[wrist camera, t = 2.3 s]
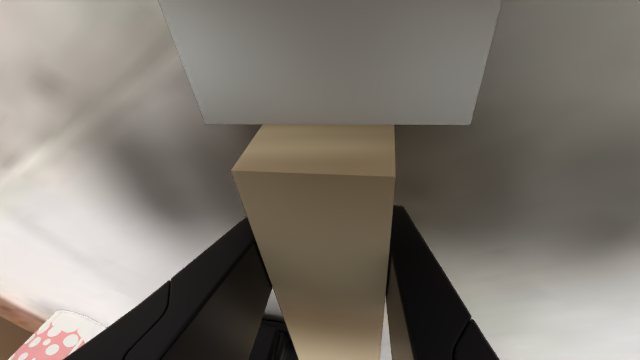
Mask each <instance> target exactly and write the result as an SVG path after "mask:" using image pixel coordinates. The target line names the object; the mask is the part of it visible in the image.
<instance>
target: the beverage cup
mask: <svg viewBox="0 0 640 360" xmlns="http://www.w3.org/2000/svg"><path fill="white" fill-rule="evenodd" d="M105 329H106V327H104V326H103V325H101V324H100V323H98V322H96V321H94V320H92V319H90V318H88V317H86V316H83V315H80V314H77V313H74V312H70V311H65V310H57V311H56V312H55V313H54V314H53V315H52V316H51V317H50V318H49V319H48V320H47V321H46V322H45V323H44V324H43V325H42V326H41V327H40V328H39V329H38V330H37V331H36V332H35V333H34V334H33V335H32V336H31V337H30V338H29V339H28V340H27V341H26V342H25V343H24V344H23V345H22V347H20V348H19V349H18V350H17V351H16V352H15V353H14V354H13V355H12V356H11V357H10V358H9V359H8V360H63V359H64V358H65V357H67V356H68V355H70V354H71V353H72V352H74V351H75V350H77V349H78V348H79V347H81V346H82V345H84V344H85V343H86V342H88V341H89V340H91V339H92V338H93V337H95V336H96V335H98V334H99V333H100V332H102V331H103V330H105Z"/></svg>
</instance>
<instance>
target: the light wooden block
mask: <svg viewBox="0 0 640 360" xmlns="http://www.w3.org/2000/svg"><path fill="white" fill-rule="evenodd" d="M158 2H159V4H160V7H161V9H162V12H163V15H164V17H165V20H166V22H167V25H168V28H169V30H170V33H171V36H172V38H173V41H174V43H175V46H176V49H177V51H178V54H179V57H180V59H181V62H182V64H183V67H184V70H185V72H186V75H187V78H188V80H189V83H190V85H191V88H192V91H193V93H194V96H195V98H196V101H197V104H198V106H199V109H200V112H201V114H202V117H203V119H204V122H205V124H263V125H262V126H261V128H260V129H259V130H258V132H257V133H256V135H255V136H254V138H253V139H252V140H251V142H250V143H249V145H248V146H247V148H246V149H245V150H244V152H243V153H242V155H241V156H240V158H239V159H238V161H237V162H236V163H235V165H234V166H233V168H232V169H231V173H232V176H233V179H234V181H235V184H236V187H237V190H238V192H239V195H240V198H241V201H242V204H243V206H244V209H245V212H246V215H247V217H248V220H249V223H250V226H251V229H252V231H253V234H254V237H255V240H256V242H257V245H258V248H259V251H260V253H261V256H262V259H263V262H264V265H265V267H266V270H267V273H268V276H269V278H270V281H271V284H272V287H273V289H274V292H275V295H276V298H277V301H278V303H279V306H280V309H281V312H282V314H283V317H284V320H285V323H286V325H287V328H288V331H289V334H290V337H291V339H292V342H293V345H294V348H295V350H296V353H297V356H298V359H299V360H380V350H381V339H382V327H383V316H384V305H385V293H386V282H387V271H388V259H389V248H390V237H391V225H392V214H393V202H394V191H395V180H396V168H395V132H394V125H470V124H471V121H472V117H473V113H474V109H475V105H476V101H477V97H478V93H479V89H480V85H481V82H482V78H483V74H484V70H485V66H486V62H487V58H488V54H489V50H490V47H491V43H492V39H493V35H494V31H495V27H496V23H497V19H498V15H499V11H500V8H501V4H502V0H158Z"/></svg>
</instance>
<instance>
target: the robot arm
mask: <svg viewBox="0 0 640 360" xmlns="http://www.w3.org/2000/svg"><path fill="white" fill-rule="evenodd" d="M271 290H272V284H271V281H270V278H269V276H268V273H267V270H266V267H265V265H264V262H263V259H262V256H261V253H260V251H259V248H258V245H257V242H256V240H255V237H254V234H253V231H252V229H251V226H250V223H249V220H248V217H245V218H244V219H243V220H242V221H241V222H239V223H238V224H237V225H236V226H234V227H233V228H232V229H231V230H230V231H228V232H227V233H226V234H225V235H223V236H222V237H221V238H220V239H219V240H217V241H216V242H215V243H214V244H212V245H211V246H210V247H209V248H208V249H206V250H205V251H204V252H203V253H202V254H200V255H199V256H198V257H197V258H195V259H194V260H193V261H192V262H191V263H189V264H188V265H187V266H186V267H184V268H183V269H182V270H181V271H180V272H178V273H177V274H176V275H175V276H174V277H172V278H171V281H170V280H169V281H167V282H166V283H165V284H164V285H162V286H161V287H160V288H159V289H158V290H156V291H155V292H154V293H153V294H151V295H150V296H149V297H147V298H146V299H145V300H144V301H142V302H141V303H140V304H139V305H137V306H136V307H135V308H133V309H132V310H131V311H129V312H128V313H127V314H125V315H124V316H123V317H121V318H120V319H118V320H117V321H116V322H114V323H113V324H112V325H110V326H109V327H107V328H106V329H105V330H103V331H102V332H100V333H99V334H98V335H96V336H95V337H93V338H92V339H91V340H89V341H88V342H86V343H85V344H84V345H82V346H81V347H79V348H78V349H77V350H75V351H74V352H72V353H71V354H70V355H68V356H67V357H65V358H64V359H63V360H299V359H298V356H297V353H296V350H295V348H294V345H293V342H292V339H291V337H290V334H289V331H288V328H287V325H286V324H285V323H279V322H272V321H265V320H262V317H263V314H264V311H265V308H266V305H267V302H268V299H269V296H270V293H271ZM385 294H386V304H387V314H388V324H389V334H390V344H391V354H392V360H499V358H498V357H497V355H496V353H495V352H494V350H493V349H492V347H491V346H490V344H489V343H488V341H487V340H486V338H485V337H484V335H483V334H482V332H481V330H480V329H479V327H478V325H477V324H476V322H475V321H474V320H473V319H471V315H470V313H469V311H468V310H467V308H466V306H465V305H464V303H463V302H462V300H461V298H460V297H459V295H458V294H457V292H456V290H455V289H454V287H453V286H452V284H451V282H450V281H449V279H448V277H447V276H446V274H445V273H444V271H443V269H442V268H441V266H440V265H439V263H438V261H437V260H436V258H435V257H434V255H433V253H432V252H431V250H430V249H429V247H428V245H427V244H426V242H425V240H424V239H423V237H422V236H421V234H420V232H419V231H418V229H417V228H416V226H415V224H414V223H413V221H412V220H411V218H410V216H409V215H408V213H407V212H406V210H405V208H404V207H403V206H399V205H393V214H392V225H391V237H390V248H389V259H388V271H387V282H386V293H385Z"/></svg>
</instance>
